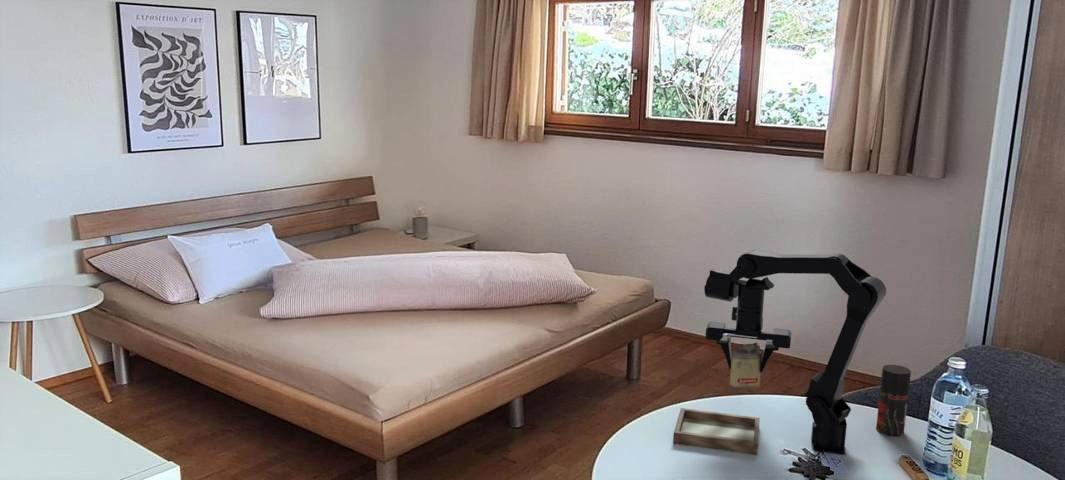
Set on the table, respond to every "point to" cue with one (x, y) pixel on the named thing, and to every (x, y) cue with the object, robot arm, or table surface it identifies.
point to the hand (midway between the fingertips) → (745, 370)
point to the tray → (717, 431)
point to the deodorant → (893, 400)
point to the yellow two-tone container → (746, 366)
